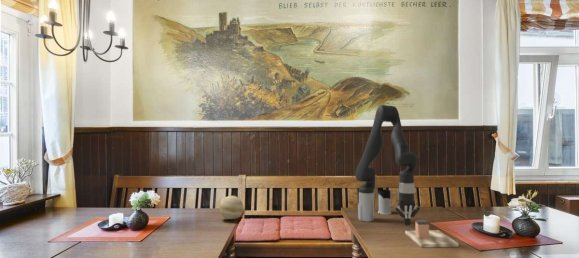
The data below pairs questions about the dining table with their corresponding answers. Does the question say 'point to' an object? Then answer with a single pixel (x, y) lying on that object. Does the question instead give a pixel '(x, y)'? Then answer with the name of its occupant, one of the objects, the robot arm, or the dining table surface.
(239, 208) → the decorative ball
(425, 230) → the block
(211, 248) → the dining table surface
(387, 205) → the glass holder
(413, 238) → the board
